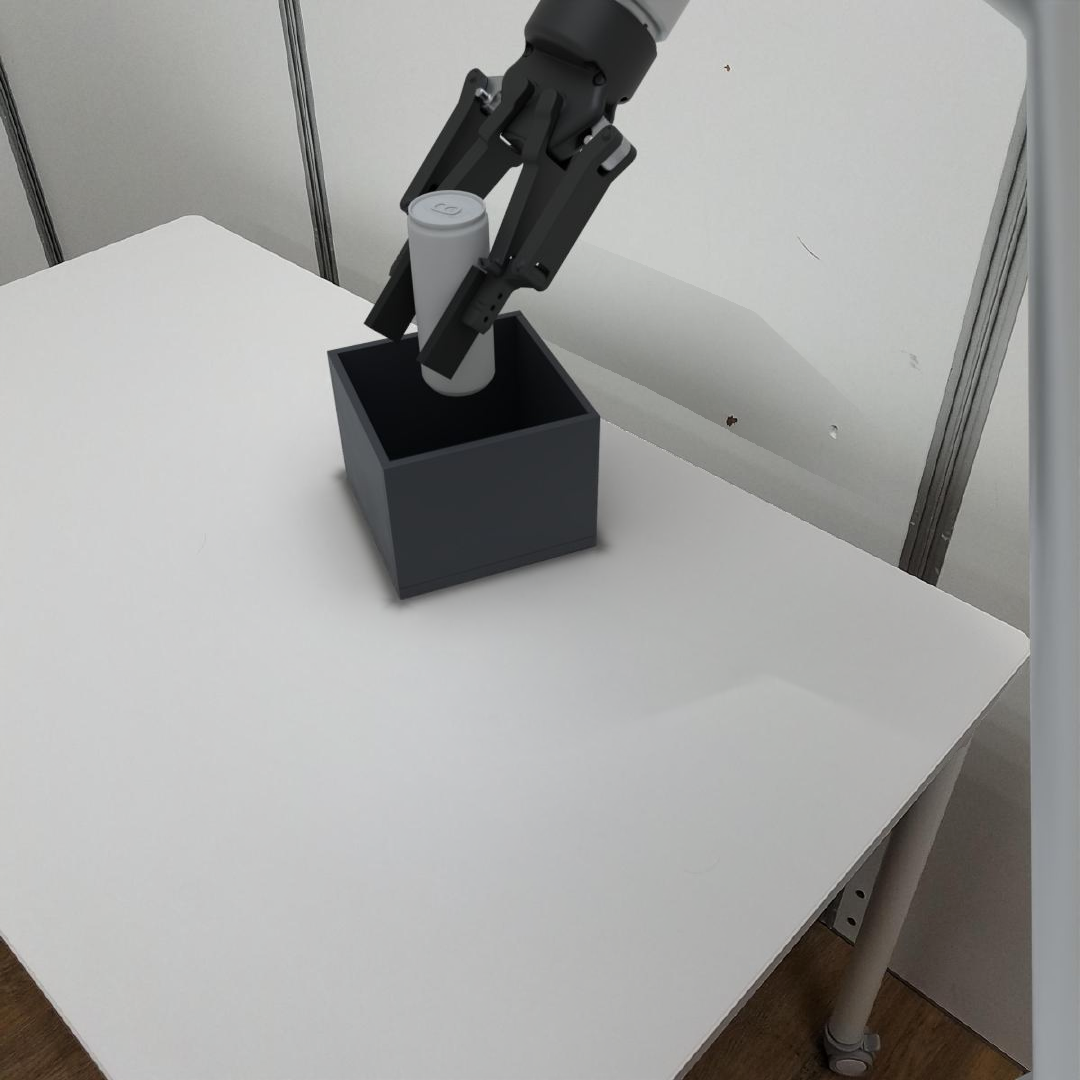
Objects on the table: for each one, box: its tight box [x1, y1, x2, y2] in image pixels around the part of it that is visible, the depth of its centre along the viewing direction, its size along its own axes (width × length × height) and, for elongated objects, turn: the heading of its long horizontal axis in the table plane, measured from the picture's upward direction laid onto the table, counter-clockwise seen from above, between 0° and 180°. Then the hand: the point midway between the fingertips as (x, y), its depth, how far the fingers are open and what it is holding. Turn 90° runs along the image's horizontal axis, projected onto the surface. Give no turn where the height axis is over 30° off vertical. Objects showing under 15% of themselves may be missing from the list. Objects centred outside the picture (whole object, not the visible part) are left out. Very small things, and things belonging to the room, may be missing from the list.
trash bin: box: [326, 309, 601, 600], centre depth 77 cm, size 14×14×11 cm
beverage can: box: [406, 190, 495, 396], centre depth 69 cm, size 5×5×12 cm
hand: (407, 350), depth 69 cm, fingers closed on beverage can, 5 cm apart
